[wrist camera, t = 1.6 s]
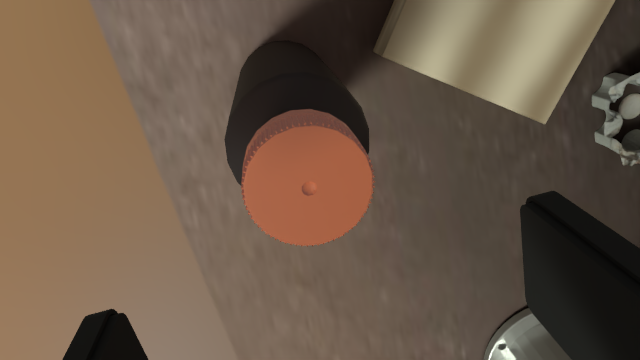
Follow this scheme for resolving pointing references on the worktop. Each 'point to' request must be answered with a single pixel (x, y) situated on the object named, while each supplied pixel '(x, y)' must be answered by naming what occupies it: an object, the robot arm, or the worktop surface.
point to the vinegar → (298, 146)
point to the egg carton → (619, 116)
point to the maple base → (495, 46)
